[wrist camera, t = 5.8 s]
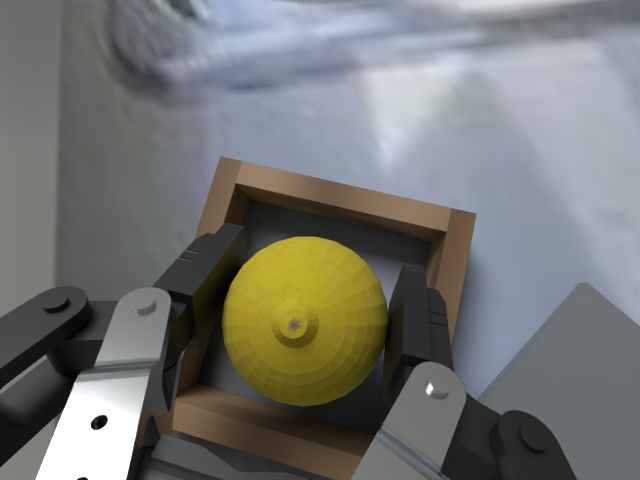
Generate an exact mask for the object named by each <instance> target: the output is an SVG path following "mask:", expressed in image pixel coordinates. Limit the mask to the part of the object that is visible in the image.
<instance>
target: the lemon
mask: <svg viewBox="0 0 640 480" xmlns="http://www.w3.org/2000/svg"><path fill="white" fill-rule="evenodd" d="M388 323H389V322H388V312H387V302H386V299H385V296H384V293H383V290H382V287H381V285H380V282H379V280H378V279H377V277H376V276H375V274H374V273H373V271H372V270H371V268H370V267H369V265H368V264H367V263H366V262H365V261H364V260H363V259H362V258H360V257H359V256H358V255H357V254H356V253H355V252H354V251H352V250H351V249H349V248H347V247H345V246H343V245H341V244H339V243H337V242H335V241H332V240H327V239H323V238H319V237H293V238H289V239H285V240H282V241H278V242H275V243H273V244H271V245H270V246H268V247H266V248H264V249H262V250H260V251H259V252H257V253H256V254H255V255H254V256H253V257H252V258H251V259H250V260H248V261H247V262H246V263H245V264H244V265H243V266H242V268H241V269H240V271H239V272H238V274H237V275H236V277H235V278H234V280H233V281H232V283H231V285H230V288H229V291H228V293H227V296H226V299H225V301H224V307H223V316H222V330H223V337H224V345H225V347H226V350H227V352H228V355H229V357H230V360H231V362H232V364H233V366H234V367H235V369H236V370H237V371H238V373H239V374H240V375H241V377H242V378H243V379H244V381H245V382H246V383H248V384H249V385H250V386H251V387H253V388H254V389H255V390H256V391H258V392H259V393H260V394H261V395H264V396H266V397H268V398H270V399H273V400H275V401H277V402H279V403H283V404H290V405H296V406H311V405H319V404H325V403H328V402H330V401H332V400H335V399H337V398H340V397H342V396H345V395H346V394H348V393H349V392H350V391H352V390H353V389H354V388H355V387H357V386H358V385H359V384H361V383H362V382H363V381H364V380H365V378H366V377H367V376H368V374H369V373H370V372H371V371H372V369H373V368H374V367H375V365H376V364H377V362H378V359H379V357H380V355H381V352H382V350H383V348H384V345H385V342H386V335H387V329H388Z"/></svg>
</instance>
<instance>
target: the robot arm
mask: <svg viewBox="0 0 640 480" xmlns="http://www.w3.org/2000/svg"><path fill="white" fill-rule="evenodd" d="M247 243H248V231H247V228H246V227H243V226H239V225H235V224H231V223H224V224H223V225H222V226H221V227H220V228H219V230H218V231H217V232H216V233H215V234H212V233H206V234H204V235H202V236H200V237H198V238H197V239H195V240H194V241H193V242H192V243H191V244H190V245H189V246H188V247H187V249H186V251H184V252H183V253H182V254H181V255H180V256H179V259H178V258H177V260H176V261H175V262H174V263H173V264H172V265H171V266H170V267H169V268H168V269H167V270H166V272H165V273H164V274H163V275H162V276H161V277H160V278H159V279H158V280H157V281H156V283H155V284H154V285H153V286H152V287H146V288H140V289H137V290H134V291H132V292H130V293H128V294H126V295H125V296H124V297H123V298H122V299H121V300H120V301H89V300H88V298H87V295H86V293H85V292H84V291H83V290H82V289H80V288H77V287H73V286H62V287H56V288H52V289H49V290H47V291H45V292H42V293H40V294H39V295H37V296H35V297H34V298H32V299H30V300H29V301H27V302H25V303H24V304H22V305H20V306H19V307H17V308H16V309H14V310H12V311H11V312H9V313H8V314H6V315H4V316H3V317H1V318H0V389H1V388H3V386H5V385H6V384H7V383H8V382H10V381H11V380H12V379H14V378H15V377H16V376H18V375H19V374H20V373H22V372H23V371H24V370H26V369H27V368H28V367H29V366H31V365H32V364H33V363H35V362H36V361H37V360H39V359H40V358H41V357H43V356H44V355H45V354H46V356H47V359H46V360H45V361H43V362H42V363H41V364H39V365H38V366H37V367H36V368H34V369H33V370H32V371H30V372H29V373H28V374H26V375H25V376H24V377H22V378H21V379H20V380H19V381H17V382H16V383H15V384H13V385H12V386H11V387H10V388H8V389H7V390H6V391H4V392H3V393H2V394H1V395H0V467H1V466H2V465H3V464H4V463H6V462H7V461H8V460H9V459H10V458H11V457H12V456H13V455H14V454H15V453H16V452H17V451H19V450H20V449H21V448H22V447H23V446H24V445H25V444H26V443H27V442H28V441H29V440H31V439H32V438H33V437H34V436H35V435H36V434H37V433H38V432H39V431H40V430H41V429H43V427H45V426H46V425H47V424H48V423H49V422H50V421H51V420H52V419H53V418H55V417H56V416H57V415H58V414H59V413H60V412H61V411H62V410H63V409H64V408H65V409H64V411H63V414H62V416H61V419H60V421H59V424H58V426H57V428H56V431H55V433H54V436H53V438H52V441H51V443H50V446H49V448H48V451H47V454H46V456H45V458H44V461H43V463H42V466H41V468H40V471H39V473H38V476H37V478H36V480H310V479H306V478H303V477H300V476H297V475H294V474H290V473H287V472H240V471H237V470H235V469H234V468H233V467H231V466H230V465H228V464H227V463H225V462H224V461H223V460H221V459H220V458H218V457H217V456H216V455H214V454H213V453H211V452H210V451H209V450H207V449H206V448H204V447H203V446H201V445H198V444H194V443H191V442H188V441H185V440H182V439H178V438H175V437H173V414H174V408H175V401H176V394H177V387H178V380H179V374H180V367H181V354H182V353H183V351H184V350H185V348H186V346H187V345H189V346H193V347H196V348H199V347H200V346H201V344H202V342H203V341H204V339H205V337H206V336H207V334H208V332H209V331H210V329H211V328H212V326H213V324H214V323H215V321H216V319H217V318H218V316H219V315H220V313H221V311H222V310H223V307H224V301H225V299H226V296H227V293H228V291H229V288H230V285H231V283H232V281H233V280H234V278H235V277H236V275H237V274H238V272H239V271H240V269H241V268H242V266H243V265H244V264H245V263H246V262H247ZM388 322H389V323H388V329H387V335H386V342H385V353H384V366H383V379H382V392H381V401H384V402H388V403H390V412H389V414H388V416H387V418H386V419H385V421H384V423H383V425H382V426H381V428H380V429H379V431H378V432H377V434H376V436H375V437H374V439H373V441H372V443H371V444H370V446H369V448H368V450H367V451H366V453H365V455H364V457H363V458H362V460H361V462H360V464H359V466H358V467H357V469H356V471H355V473H354V474H353V476H352V478H351V480H441V478H442V476H441V474H440V472H441V473H442V474H444V475H445V476H447V477H448V478H449V479H451V480H577V478H576V476H575V474H574V472H573V470H572V468H571V466H570V464H569V462H568V460H567V458H566V456H565V454H564V452H563V450H562V448H561V446H560V444H559V442H558V440H557V439H556V437H555V436H554V434H553V433H552V431H551V430H550V429H549V428H548V427H547V426H546V425H545V424H544V423H543V422H542V421H540V420H539V419H538V418H536V417H534V416H533V415H531V414H529V413H527V412H524V411H520V410H510V411H507V412H505V413H504V414H503V415H500V414H499V413H497V412H495V411H494V410H492V409H490V408H488V407H487V406H485V405H483V404H482V403H480V402H478V401H477V400H475V399H474V398H472V397H471V396H470V395H469V394H468V393H467V392H466V391H465V388H464V385H463V383H462V382H461V380H460V379H459V377H458V376H457V375H456V374H455V373H454V369H453V362H452V353H451V344H450V335H449V329H448V318H447V309H446V302H445V301H444V299H443V297H442V296H441V294H440V292H439V291H438V290H436V289H432V288H428V287H427V278H426V272H425V271H422V270H418V269H414V268H410V267H406V266H403V268H402V270H401V272H400V275H399V278H398V281H397V283H396V286H395V289H394V291H393V294H392V297H391V300H390V304H389V308H388Z"/></svg>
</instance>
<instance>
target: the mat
mask: <svg viewBox="0 0 640 480" xmlns="http://www.w3.org/2000/svg"><path fill="white" fill-rule="evenodd" d="M477 401H478V402H480V403H482V404H483V405H485V406H487V407H488V408H490V409H492V410H494V411H495V412H497V413H499V414H500V415H503V414H504V413H505V412H507V411H510V410H520V411H524V412H527V413H529V414H531V415H533V416H534V417H536V418H538V419H539V420H540V421H542V422H543V423H544V424H545V425H546V426H547V427H548V428H549V429H550V430H551V431H552V433H553V434H554V436H555V437H556V439H557V440H558V442H559V444H560V446H561V448H562V450H563V452H564V454H565V456H566V458H567V460H568V462H569V464H570V466H571V468H572V470H573V472H574V474H575V476H576V478H577V480H640V327H639V326H638V325H637V324H636V323H635V322H633V321H632V320H631V319H630V318H629V317H627V316H626V315H625V314H624V313H623V312H621V311H620V310H619V309H618V308H617V307H616V306H614V305H613V304H612V303H611V302H610V301H608V300H607V299H606V298H605V297H604V296H602V295H601V294H600V293H599V292H598V291H596V290H595V289H594V288H593V287H592V286H590V285H589V284H588V283H579V284H578V286H577V287H576V288H575V289H574V290H573V291H572V292H571V294H570V295H569V296H568V297H567V298H566V299H565V300H564V301H563V303H562V304H561V305H560V306H559V307H558V308H557V309H556V311H555V312H554V313H553V314H552V315H551V316H550V317H549V319H548V320H547V321H546V322H545V323H544V324H543V325H542V327H541V328H540V329H539V330H538V331H537V332H536V333H535V334H534V336H533V337H532V338H531V339H530V340H529V341H528V342H527V344H526V345H525V346H524V347H523V348H522V349H521V350H520V352H519V353H518V354H517V355H516V356H515V357H514V358H513V360H512V361H511V362H510V363H509V364H508V365H507V366H506V367H505V369H504V370H503V371H502V372H501V373H500V374H499V375H498V377H497V378H496V379H495V380H494V381H493V382H492V383H491V385H490V386H489V387H488V388H487V389H486V390H485V391H484V393H483V394H482V395H481V396H480V397H479V398H478V399H477Z"/></svg>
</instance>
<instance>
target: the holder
mask: <svg viewBox="0 0 640 480" xmlns="http://www.w3.org/2000/svg"><path fill="white" fill-rule="evenodd" d="M250 200H255V201H259V202H263V203H267V204H272V205H276V206H280V207H284V208H289V209H293V210H297V211H301V212H306V213H310V214H314V215H318V216H323V217H327V218H331V219H335V220H340V221H344V222H348V223H352V224H357V225H361V226H365V227H369V228H374V229H378V230H382V231H386V232H391V233H395V234H399V235H403V236H408V237H412V238H416V239H421V240H425V241H429V242H430V247H429V252H428V257H427V262H426V266H425V272H426V278H427V287H428V288H432V289H436V290H438V291H439V292H440V294H441V296H442V297H443V299H444V301H445V302H446V309H447V318H448V329H449V335H450V344H451V346H452V341H453V336H454V330H455V325H456V320H457V314H458V309H459V304H460V298H461V293H462V288H463V282H464V277H465V272H466V267H467V261H468V256H469V251H470V245H471V240H472V235H473V229H474V224H475V219H476V214H475V213H471V212H466V211H462V210H457V209H453V208H448V207H444V206H440V205H435V204H431V203H426V202H422V201H417V200H413V199H408V198H404V197H399V196H395V195H390V194H386V193H382V192H377V191H373V190H368V189H364V188H359V187H355V186H350V185H346V184H341V183H337V182H332V181H328V180H323V179H319V178H315V177H310V176H306V175H301V174H297V173H292V172H288V171H283V170H279V169H274V168H270V167H265V166H261V165H257V164H252V163H248V162H243V161H239V160H234V159H230V158H225V157H221V156H220V160H219V163H218V166H217V169H216V172H215V175H214V179H213V182H212V185H211V188H210V191H209V194H208V198H207V201H206V204H205V207H204V210H203V213H202V217H201V220H200V223H199V226H198V229H197V232H196V236H195V239H197V238H198V237H200V236H202V235H204V234H206V233H212V234H215V233H216V232H217V231H218V230H219V228H220V227H221V226H222V225H223V224H224V223H231V224H235V225H239V226H243V224H244V221H245V217H246V214H247V210H248V207H249V204H250ZM195 239H194V240H195ZM213 326H214V324H213ZM213 326H212V328H211V329H210V331H209V332H208V334H207V336H206V337H205V339H204V341H203V342H202V344H201V346H200V347H199V348H196V347H193V346H189V345H187V346H186V348H185V350H184V351H183V353H182V354H181V367H180V374H179V380H178V387H177V394H176V401H175V408H174V414H173V430H176V431H179V432H183V433H186V434H189V435H192V436H195V437H199V438H202V439H205V440H208V441H212V442H215V443H218V444H221V445H224V446H228V447H231V448H234V449H237V450H241V451H244V452H247V453H250V454H253V455H257V456H260V457H263V458H266V459H269V460H273V461H276V462H279V463H282V464H286V465H289V466H292V467H295V468H298V469H302V470H305V471H308V472H311V473H315V474H318V475H321V476H324V477H327V478H331V479H334V480H351V478H352V476H353V474H354V473H355V471H356V469H357V467H358V466H359V464H360V462H361V460H362V458H363V457H364V455H365V453H366V451H367V450H368V448H369V446H370V444H371V443H372V441H373V439H374V437H375V436H373V435H370V434H366V433H363V432H359V431H356V430H353V429H349V428H346V427H343V426H339V425H336V424H332V423H329V422H326V421H322V420H319V419H315V418H312V417H309V416H305V415H302V414H298V413H295V412H292V411H288V410H285V409H281V408H278V407H275V406H271V405H268V404H264V403H261V402H258V401H254V400H251V399H247V398H244V397H241V396H237V395H234V394H230V393H227V392H224V391H220V390H217V389H214V388H210V387H207V386H203V385H200V384H197V380H198V376H199V373H200V370H201V366H202V363H203V359H204V356H205V353H206V349H207V346H208V342H209V339H210V336H211V332H212V329H213Z"/></svg>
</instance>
